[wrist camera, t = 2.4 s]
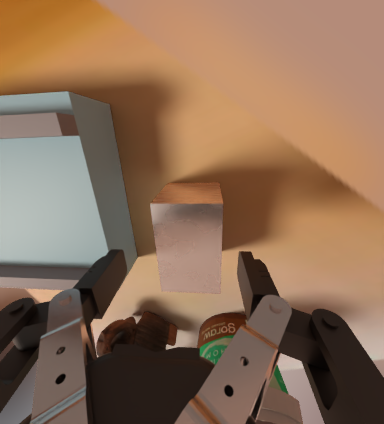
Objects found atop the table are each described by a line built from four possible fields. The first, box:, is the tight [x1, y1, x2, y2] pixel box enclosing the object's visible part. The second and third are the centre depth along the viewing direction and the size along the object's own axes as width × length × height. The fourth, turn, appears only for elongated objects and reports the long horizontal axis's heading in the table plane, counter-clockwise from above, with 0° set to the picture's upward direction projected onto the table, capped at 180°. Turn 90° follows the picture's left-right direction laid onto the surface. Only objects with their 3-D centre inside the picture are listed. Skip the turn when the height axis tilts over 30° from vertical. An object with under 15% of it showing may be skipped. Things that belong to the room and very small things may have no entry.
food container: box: [197, 313, 303, 424], centre depth 21 cm, size 12×6×10 cm, turn 132°
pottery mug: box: [96, 312, 177, 357], centre depth 25 cm, size 12×10×8 cm
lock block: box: [150, 183, 223, 294], centre depth 17 cm, size 5×8×6 cm, turn 2°
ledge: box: [0, 91, 138, 290], centre depth 16 cm, size 14×16×6 cm
